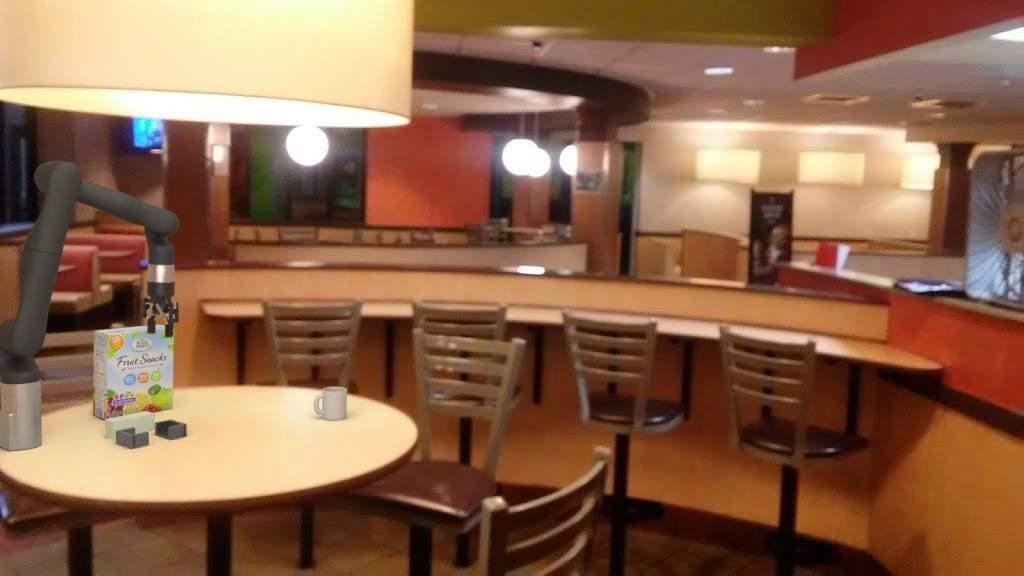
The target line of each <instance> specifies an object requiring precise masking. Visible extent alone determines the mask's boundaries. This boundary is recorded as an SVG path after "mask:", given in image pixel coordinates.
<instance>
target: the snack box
mask: <svg viewBox="0 0 1024 576" xmlns="http://www.w3.org/2000/svg"><path fill="white" fill-rule="evenodd" d="M174 337H175V328H174V327H173V337H168V338H167V337H165V325H163V324H156V329H155V333H152V334H149V333H147V325H139V326H130V327H129V326H128V327H118V328H110V329H109V328H108V329H99V330H94V331H93V381H92V382H93V389H92V391H93V392H92V393H93V394H92V395H93V398H92V399H93V404H92V405H93V406H92V415H93V416H95V417H98V418H99V419H102V420H104V421H105V419H109V418H114V417H119V416H124V415H129V414H134V413H139V412H144V411H148V412H151V413H156V412H162V411H166V410H168V411H169V410H173V401H174V400H173V397H174V396H173V395H174V393H173V392H174V389H173V388H174V345H175V343H174V341H175V338H174Z"/></svg>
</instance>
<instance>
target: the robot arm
mask: <svg viewBox="0 0 1024 576" xmlns="http://www.w3.org/2000/svg"><path fill="white" fill-rule="evenodd" d="M82 174H83V173H82V172H81V170H80V168H79V166H77V165H76V164H75V163H73V162H70V161H63V160H62V161H61V160H52V161H47V162H43V163H41V164H40V165H39V166H38V167H37V168H36V170H35V171H34V177H33V179H34V180H33V181H34V183H35V185H36V187H37V188H38V189H39V190H40V192H42V193H43V194H45V196H44V200H43V204H42V209H41V211H40V214H39V216H38V218H37V219H36V221H35V223H34V224H33V226H32V227H31V229H30V230H29V232H28V234H27V236H26V238H25V240H24V242H23V246H22V249H21V250H22V251H21V254H20V258H19V262H18V282H19V292H20V294H19V296H20V299H19V304H18V308H17V313H16V315H15V317H13V318H11V317H10V318H8V319H5V320H4V321H3V322H1V323H0V448H2V449H4V450H6V451H10V452H11V451H21V450H30V449H34V448H37V447H39V446H41V445H42V444H43V433H42V432H43V431H42V429H43V427H42V423H43V422H42V385H41V384H42V381H41V380H42V379H41V376H42V375H41V369H40V367H39V365H37V362H36V360H35V355H36V354H38V352H39V351H40V350H41V348H42V347H43V346H44V344H45V340H46V334H47V326H48V318H49V310H50V305H51V301H52V297H53V294H54V289H55V285H56V280H57V276H58V273H59V269H60V265H61V262H62V256H63V254H64V253H63V252H64V248H65V243H66V238H67V235H68V230H69V226H70V223H71V222H70V221H71V218H72V215H73V212H74V209H75V206H76V203H80V204H83V205H86V206H89V207H92V208H94V209H96V210H98V211H101V212H103V213H105V214H107V215H110V216H112V217H114V218H116V219H118V220H122V221H124V222H127V223H130V224H132V225H136V226H141V227H144V228H143V229H144V234H145V239H146V244H147V247H148V248H147V249H148V255H147V256H148V262H147V264H148V265H147V270H146V271H147V273H146V277H147V278H146V296H148V297H143V299H142V313H141V314H142V315H141V317H142V318H143V319H145V320H146V322H147V324H146V326H147V333H149V334H152V333H155V329H156V325H157V324H156V323H157V322H156V318H157V317H158V316H160V318H162V319H163V322H164V326H165V337H167V338H168V337H173V328H174V325H175V324H177V323H179V322H180V321H179V320H180V316H179V314H180V312H179V311H180V309H179V308H180V305H179V302H178V301H172V298H173V297H174V296H175V294H176V293H175V290H176V288H175V287H176V286H175V285H176V270H175V268H176V267H175V247H174V246H173V245H172V244H171V243H170V241H169V236H173V235H174V234H176V233H177V232H178V231H179V229H180V225H181V223H180V219H179V217H178V216H177V215H176V214H175V212H172V211H170V210H167V209H165V208H161V207H159V206H156V205H152V204H149V203H147V202H144V201H143V200H141V199H140V198H139V199H138V198H136V197H134V196H132V195H130V194H127V193H124V192H122V191H118V190H115V189H112V188H109V187H105V186H103V185H100V184H97V183H94V182H91V181H89V180H86V179H84V178H83V175H82Z"/></svg>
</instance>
